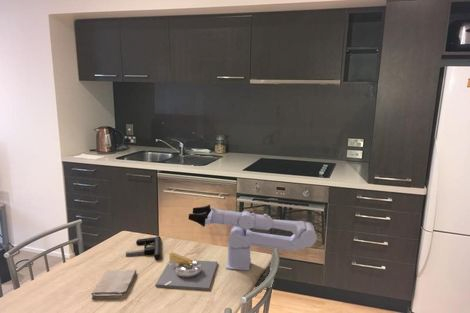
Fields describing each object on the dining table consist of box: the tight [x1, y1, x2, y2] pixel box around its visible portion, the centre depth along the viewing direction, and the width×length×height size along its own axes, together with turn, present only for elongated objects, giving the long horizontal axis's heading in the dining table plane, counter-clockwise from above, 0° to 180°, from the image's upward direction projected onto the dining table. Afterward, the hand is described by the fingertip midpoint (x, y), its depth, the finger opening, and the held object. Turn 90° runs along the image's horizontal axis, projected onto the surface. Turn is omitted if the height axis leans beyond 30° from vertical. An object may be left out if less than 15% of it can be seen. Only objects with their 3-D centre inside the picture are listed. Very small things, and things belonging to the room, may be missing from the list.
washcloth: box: [91, 268, 137, 300], centre depth 131 cm, size 12×18×3 cm, turn 3°
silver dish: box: [169, 252, 201, 278], centre depth 140 cm, size 14×10×5 cm
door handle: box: [125, 235, 162, 261], centre depth 159 cm, size 3×20×16 cm
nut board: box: [155, 259, 218, 291], centre depth 139 cm, size 20×20×1 cm
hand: (190, 213), depth 145 cm, fingers open, 7 cm apart
